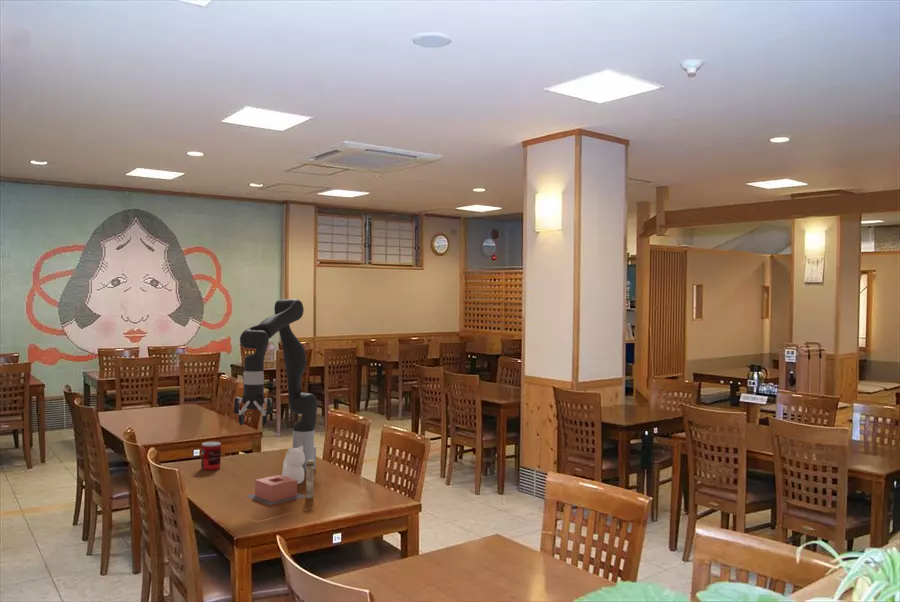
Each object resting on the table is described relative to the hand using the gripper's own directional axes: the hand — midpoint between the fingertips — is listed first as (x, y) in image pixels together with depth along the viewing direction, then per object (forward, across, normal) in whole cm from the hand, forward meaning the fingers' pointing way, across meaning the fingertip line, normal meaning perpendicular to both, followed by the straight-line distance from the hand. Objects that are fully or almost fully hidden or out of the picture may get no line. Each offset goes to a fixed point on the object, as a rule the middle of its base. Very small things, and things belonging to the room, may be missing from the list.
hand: (253, 425), depth 266 cm
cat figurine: (+26, -11, -16) cm, 33 cm away
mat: (+26, -11, +4) cm, 28 cm away
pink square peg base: (+26, -11, +4) cm, 28 cm away
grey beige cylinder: (+26, -23, +5) cm, 35 cm away
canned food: (+26, +30, -35) cm, 53 cm away
